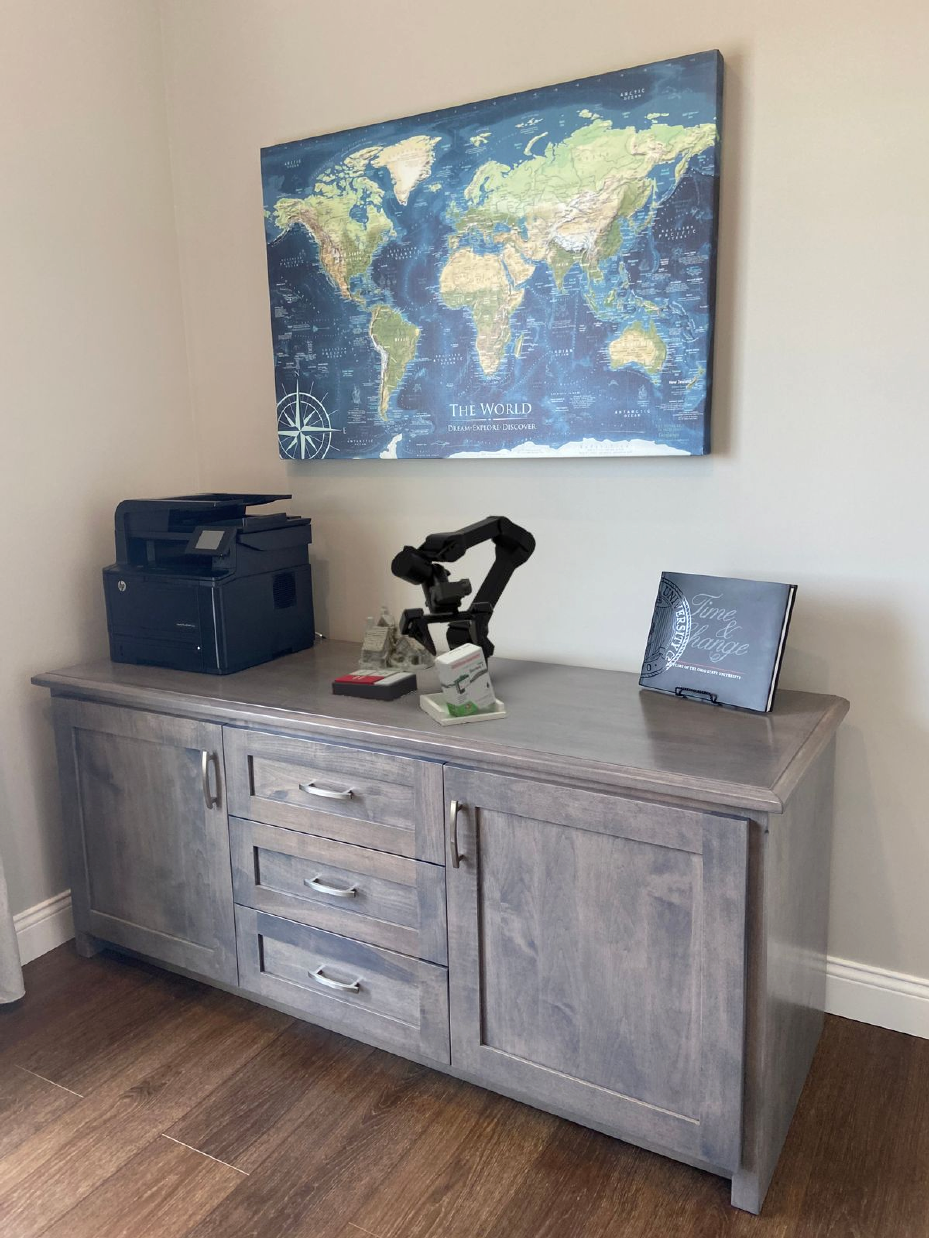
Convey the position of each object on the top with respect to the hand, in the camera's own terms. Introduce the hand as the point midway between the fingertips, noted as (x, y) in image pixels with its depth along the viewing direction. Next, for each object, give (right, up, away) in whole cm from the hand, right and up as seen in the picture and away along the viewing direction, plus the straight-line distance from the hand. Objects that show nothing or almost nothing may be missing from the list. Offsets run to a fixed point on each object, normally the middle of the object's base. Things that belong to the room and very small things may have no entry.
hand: (457, 652), depth 184 cm
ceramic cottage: (-15, -5, +39) cm, 42 cm away
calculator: (-18, -10, +18) cm, 27 cm away
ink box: (+3, -11, -2) cm, 11 cm away
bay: (+1, -12, 0) cm, 12 cm away
